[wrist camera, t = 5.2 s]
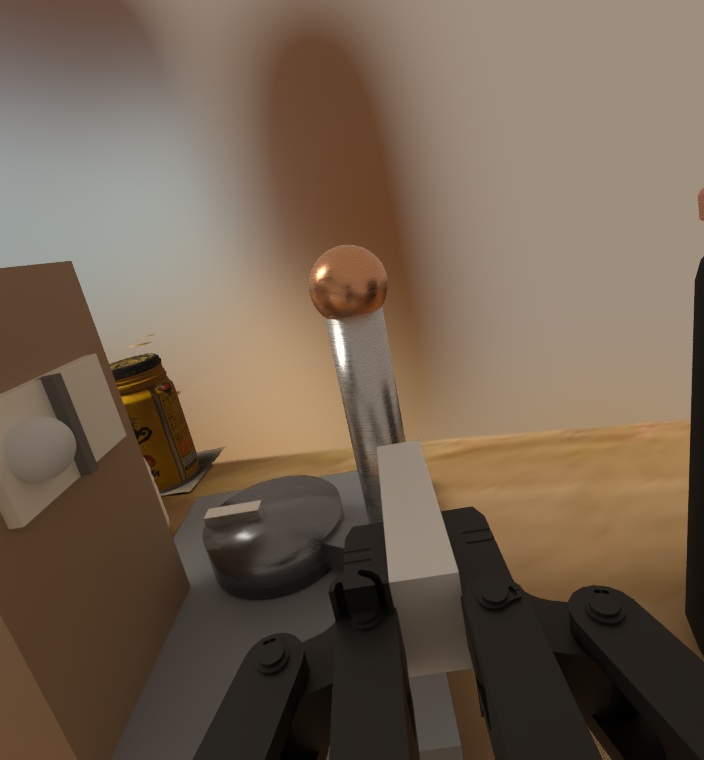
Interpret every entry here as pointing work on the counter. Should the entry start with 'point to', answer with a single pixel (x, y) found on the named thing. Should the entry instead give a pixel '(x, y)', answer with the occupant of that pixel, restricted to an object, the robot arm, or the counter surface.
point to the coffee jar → (697, 467)
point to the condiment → (160, 424)
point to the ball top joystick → (308, 493)
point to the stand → (119, 563)
